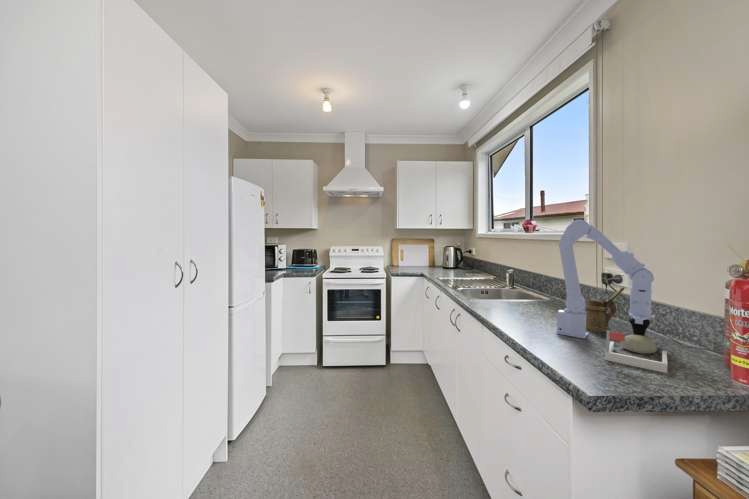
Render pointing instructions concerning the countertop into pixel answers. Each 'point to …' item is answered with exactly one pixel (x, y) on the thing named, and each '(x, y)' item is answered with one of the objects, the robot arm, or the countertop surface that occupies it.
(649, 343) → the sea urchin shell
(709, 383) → the countertop surface
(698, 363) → the countertop surface
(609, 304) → the wooden mug
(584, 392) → the countertop surface
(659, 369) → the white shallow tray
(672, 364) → the countertop surface
